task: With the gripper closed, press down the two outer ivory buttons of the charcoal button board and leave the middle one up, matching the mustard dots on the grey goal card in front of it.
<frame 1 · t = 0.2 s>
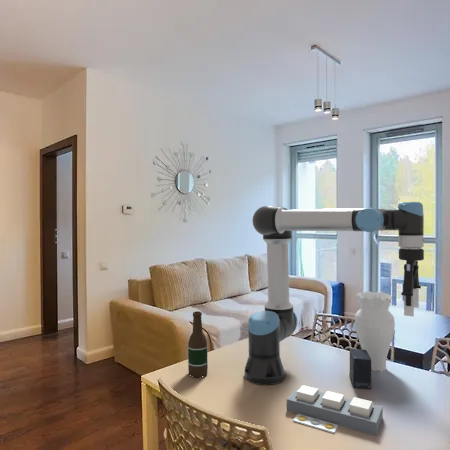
hand: (411, 311, 122), 28 cm above the table, fingers open, 13 cm apart
board: (333, 414, 110), on the table
small box: (360, 382, 132), on the table
button 3: (361, 407, 106), point 4 cm above the table, slide at 0.0 cm
button 2: (333, 400, 110), point 4 cm above the table, slide at 0.0 cm
vase: (375, 367, 145), on the table
goal card: (315, 423, 105), on the table
beer bottle: (198, 374, 141), on the table
button 1: (307, 393, 114), point 4 cm above the table, slide at 0.0 cm
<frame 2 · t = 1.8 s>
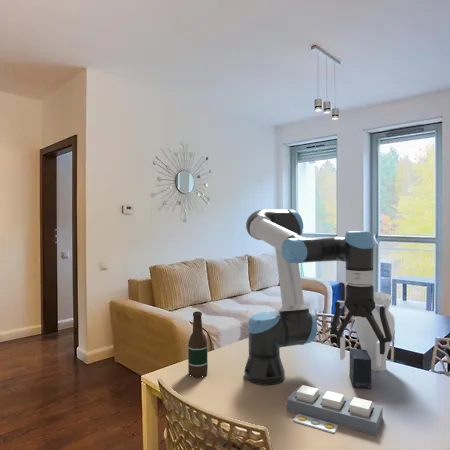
hand: (360, 361, 106), 18 cm above the table, fingers open, 9 cm apart
nothing on the table moved.
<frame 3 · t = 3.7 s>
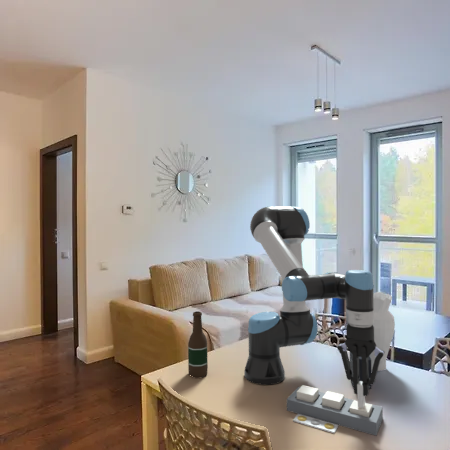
hand: (361, 405, 106), 5 cm above the table, fingers closed
button 3: (361, 410, 106), point 3 cm above the table, slide at 0.9 cm, touching gripper
everything else where it was.
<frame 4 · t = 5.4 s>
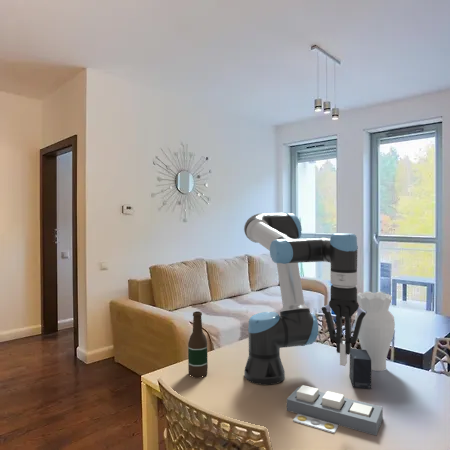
hand: (343, 363, 109), 16 cm above the table, fingers closed
button 3: (361, 412, 106), point 3 cm above the table, slide at 1.6 cm
everything else where it was.
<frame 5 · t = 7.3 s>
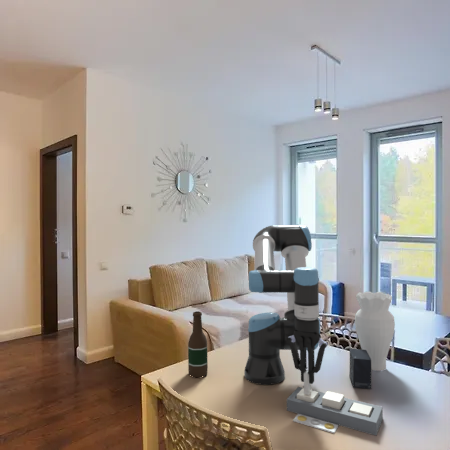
hand: (307, 392, 114), 5 cm above the table, fingers closed
button 1: (307, 397, 114), point 3 cm above the table, slide at 1.0 cm, touching gripper
everything else where it was.
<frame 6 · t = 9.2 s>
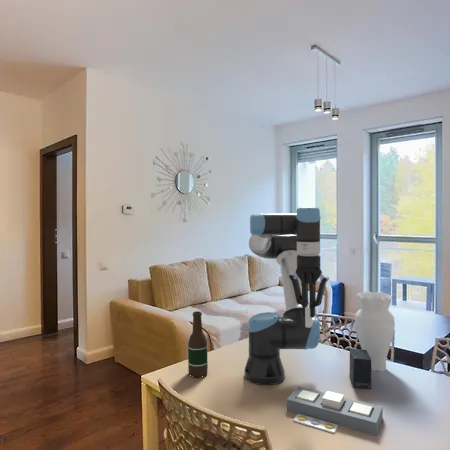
hand: (309, 326, 119), 24 cm above the table, fingers closed
button 1: (307, 398, 114), point 3 cm above the table, slide at 1.6 cm
everything else where it was.
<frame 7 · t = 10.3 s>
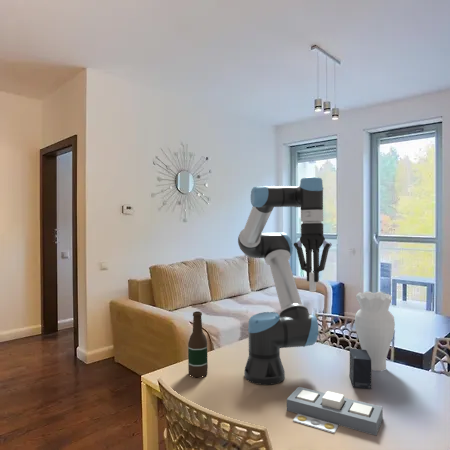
hand: (312, 291, 125), 34 cm above the table, fingers closed
nothing on the table moved.
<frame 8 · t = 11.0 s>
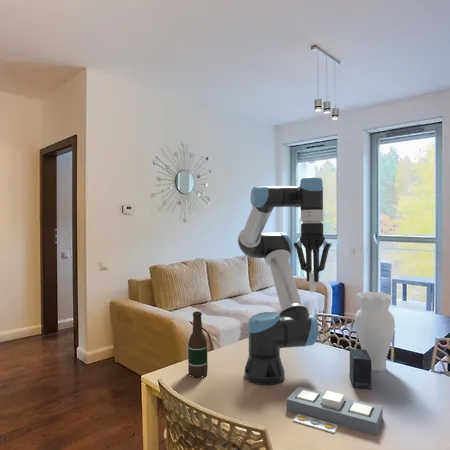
hand: (312, 291, 125), 34 cm above the table, fingers closed
nothing on the table moved.
at the end: button 1 slide at 1.6 cm; button 3 slide at 1.6 cm; button 2 slide at 0.0 cm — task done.
